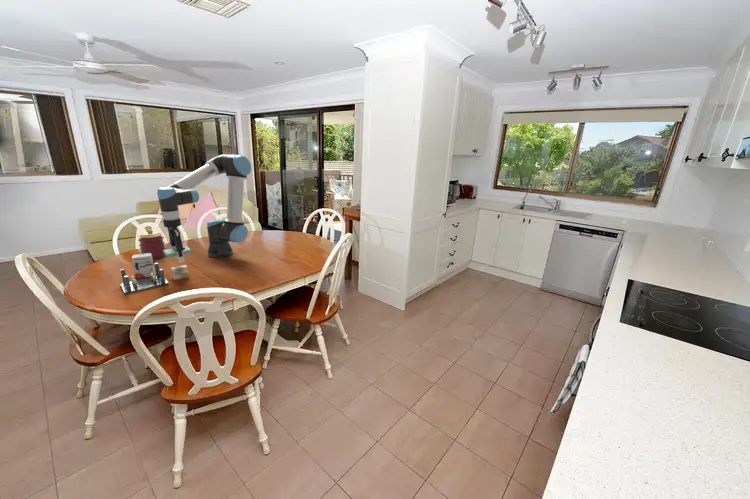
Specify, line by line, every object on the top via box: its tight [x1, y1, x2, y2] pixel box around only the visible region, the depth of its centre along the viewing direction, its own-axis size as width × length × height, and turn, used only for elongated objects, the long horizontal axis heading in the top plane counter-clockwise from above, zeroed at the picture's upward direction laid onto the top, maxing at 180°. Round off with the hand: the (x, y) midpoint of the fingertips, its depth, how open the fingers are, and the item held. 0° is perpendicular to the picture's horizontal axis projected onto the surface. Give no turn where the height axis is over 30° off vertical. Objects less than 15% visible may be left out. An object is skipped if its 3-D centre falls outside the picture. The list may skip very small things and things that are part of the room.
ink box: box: [131, 253, 156, 279], centre depth 166 cm, size 8×5×12 cm, turn 123°
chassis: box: [119, 262, 170, 295], centre depth 156 cm, size 18×13×8 cm
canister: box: [137, 229, 167, 260], centre depth 193 cm, size 13×13×18 cm
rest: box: [170, 264, 190, 281], centre depth 167 cm, size 7×3×6 cm, turn 135°
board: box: [163, 245, 193, 259], centre depth 164 cm, size 11×8×3 cm
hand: (179, 259), depth 165 cm, fingers closed on board, 8 cm apart
